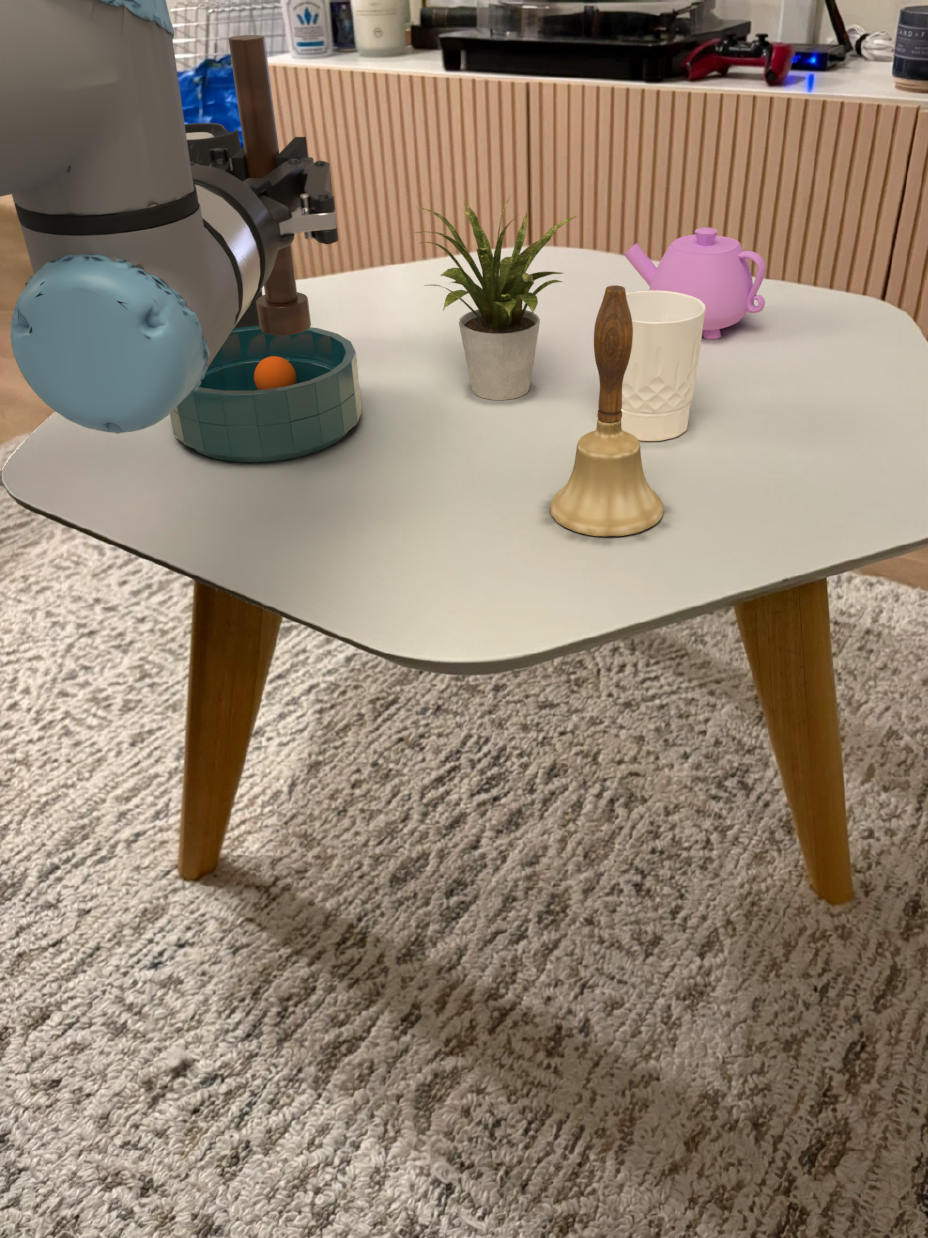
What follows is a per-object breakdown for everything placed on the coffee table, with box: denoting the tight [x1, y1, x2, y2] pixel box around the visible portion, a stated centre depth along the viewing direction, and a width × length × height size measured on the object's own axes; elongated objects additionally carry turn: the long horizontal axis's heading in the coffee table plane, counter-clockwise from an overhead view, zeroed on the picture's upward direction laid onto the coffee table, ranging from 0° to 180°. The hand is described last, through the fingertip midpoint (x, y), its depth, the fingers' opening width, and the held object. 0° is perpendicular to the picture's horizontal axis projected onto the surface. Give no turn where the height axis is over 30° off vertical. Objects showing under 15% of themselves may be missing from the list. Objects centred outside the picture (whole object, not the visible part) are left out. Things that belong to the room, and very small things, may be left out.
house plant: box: [413, 194, 578, 401], centre depth 94 cm, size 14×14×16 cm
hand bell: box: [549, 284, 665, 537], centre depth 76 cm, size 8×8×16 cm
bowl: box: [169, 326, 363, 463], centre depth 92 cm, size 16×16×6 cm
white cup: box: [621, 289, 706, 442], centre depth 89 cm, size 8×8×10 cm
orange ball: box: [254, 356, 296, 390], centre depth 95 cm, size 4×4×4 cm
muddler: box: [227, 34, 312, 336], centre depth 73 cm, size 4×4×18 cm
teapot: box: [623, 227, 767, 340], centre depth 109 cm, size 10×15×9 cm
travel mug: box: [184, 122, 264, 329], centre depth 101 cm, size 8×8×20 cm
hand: (282, 157), depth 77 cm, fingers closed on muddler, 2 cm apart
